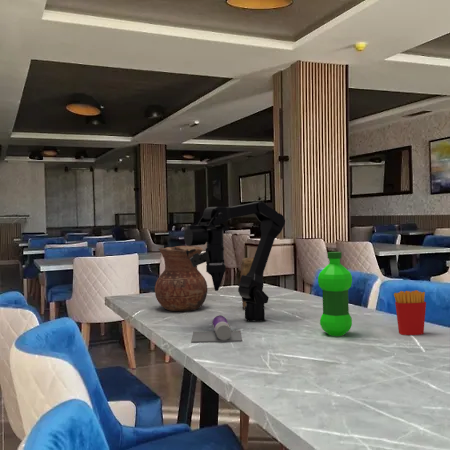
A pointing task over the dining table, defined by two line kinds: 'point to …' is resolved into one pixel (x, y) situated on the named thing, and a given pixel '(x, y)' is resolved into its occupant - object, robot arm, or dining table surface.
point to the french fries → (410, 312)
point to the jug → (180, 280)
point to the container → (221, 327)
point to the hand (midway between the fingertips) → (216, 290)
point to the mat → (214, 337)
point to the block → (246, 269)
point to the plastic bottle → (335, 296)
